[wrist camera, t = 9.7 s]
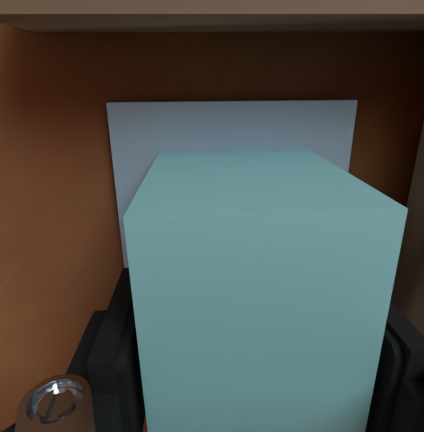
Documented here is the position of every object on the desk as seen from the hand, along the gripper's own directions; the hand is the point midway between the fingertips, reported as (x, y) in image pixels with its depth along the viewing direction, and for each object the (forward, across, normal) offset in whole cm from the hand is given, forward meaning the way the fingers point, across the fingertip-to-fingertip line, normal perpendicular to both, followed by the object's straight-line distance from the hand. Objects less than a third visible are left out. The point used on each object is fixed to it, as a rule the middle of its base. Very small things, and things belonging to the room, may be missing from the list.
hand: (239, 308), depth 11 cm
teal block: (+2, 0, 0) cm, 2 cm away
